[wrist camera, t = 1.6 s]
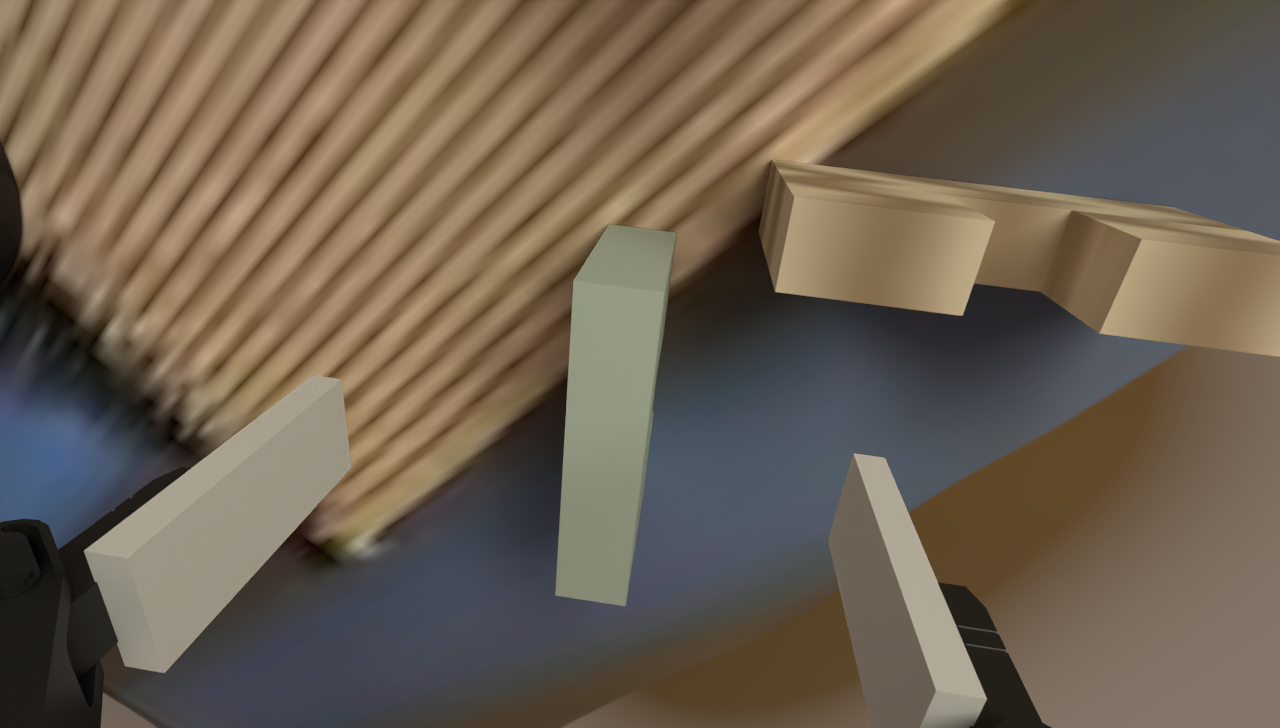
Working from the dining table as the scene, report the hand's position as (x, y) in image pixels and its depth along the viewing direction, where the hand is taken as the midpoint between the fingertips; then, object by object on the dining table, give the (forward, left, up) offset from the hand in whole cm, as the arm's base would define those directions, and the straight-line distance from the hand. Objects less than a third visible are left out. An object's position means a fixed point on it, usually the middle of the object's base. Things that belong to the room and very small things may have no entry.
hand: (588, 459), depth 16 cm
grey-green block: (0, -4, -14) cm, 15 cm away
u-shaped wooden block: (+13, +5, -14) cm, 20 cm away
